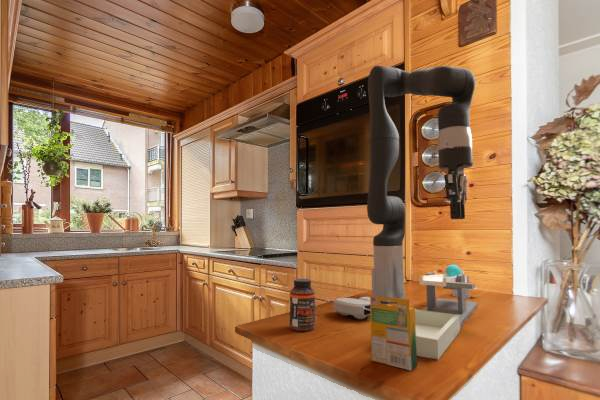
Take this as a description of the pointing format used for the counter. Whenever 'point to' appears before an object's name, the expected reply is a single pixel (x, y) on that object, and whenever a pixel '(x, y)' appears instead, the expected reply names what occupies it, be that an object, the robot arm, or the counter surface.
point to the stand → (450, 302)
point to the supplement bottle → (302, 306)
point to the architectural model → (467, 291)
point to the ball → (453, 270)
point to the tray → (435, 332)
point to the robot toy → (353, 306)
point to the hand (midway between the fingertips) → (457, 218)
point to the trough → (445, 281)
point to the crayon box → (393, 333)
